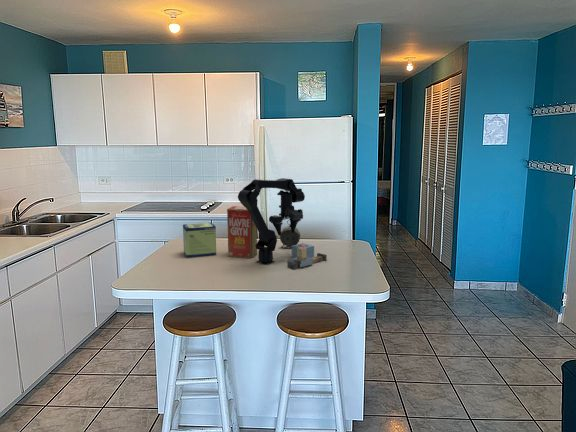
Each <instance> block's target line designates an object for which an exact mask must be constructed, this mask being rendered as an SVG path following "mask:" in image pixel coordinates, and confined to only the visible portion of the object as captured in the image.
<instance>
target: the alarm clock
mask: <svg viewBox="0 0 576 432" xmlns="http://www.w3.org/2000/svg"><path fill="white" fill-rule="evenodd" d="M289 221H290V219H288V220H287V221H286V223H287V226H285V227H284V228H282V229H281V235H280V236H279V239H280V243H282V246H281V248H284V246H286V247H288V249H289V250H291V248H292V246H293V245H297V244H299V242H300V240H301V232H300V230H299V229H298V228H297V227H296V228H295V231H294V233H292V231H291V224H290V223H289Z"/></svg>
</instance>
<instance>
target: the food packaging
mask: <svg viewBox="0 0 576 432" xmlns="http://www.w3.org/2000/svg"><path fill="white" fill-rule="evenodd" d="M226 211H227V213H226V214H227V216H226V217H227V250H228V253H227V254H228V255H227V256H228V257H229V258H243V259H244V258H246V259H253V258H255V256H258V249H256V246H255V245H256V244H257V242H258V230H257V228H256V226H255V224H254V222H253V220H252V218H251V216H250V213H249V211H248V210H247V208H245V207H244V206H239V205H237V206H235V205H233V206H232V205H231V207H229V208H227V209H226Z"/></svg>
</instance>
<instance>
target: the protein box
mask: <svg viewBox="0 0 576 432" xmlns="http://www.w3.org/2000/svg"><path fill="white" fill-rule="evenodd" d="M216 227H217V226H216V225H215V224H214V223H212V222H201V223H199V222H198V223H186V224H185V223H184V224H183V225H182V232H183V233H182V234H183V238H182V239H183V254H184V255H185V257H186V258H187V259H189V258H197V257H198V258H201V257H210V256H217V231H216V230H217V228H216Z"/></svg>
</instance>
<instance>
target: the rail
mask: <svg viewBox="0 0 576 432" xmlns="http://www.w3.org/2000/svg"><path fill="white" fill-rule="evenodd" d="M312 258H313V261H312V264H311V265H313V264H317V263H320V262H326V261H328V260H327V254H325V253H320V252H318V253H317V254H316V256H314V257H312ZM286 263H287V265H286V266H287V267H286V268H288V269H292V270H298V268H299V269H300V267H299V263H296V262H293V261H291V260H287V262H286Z"/></svg>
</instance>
